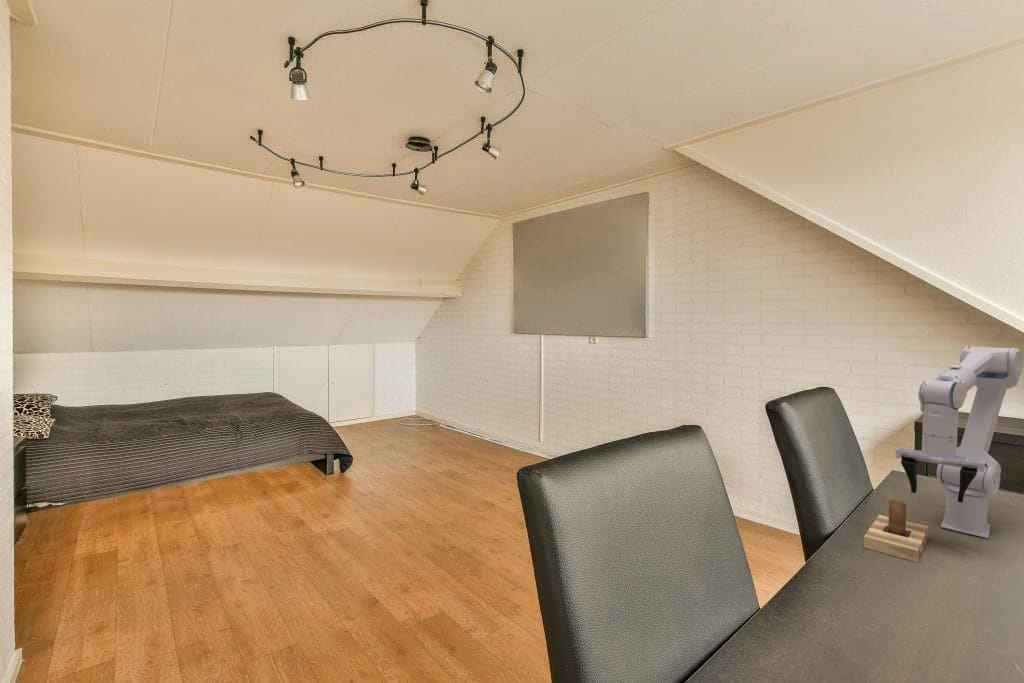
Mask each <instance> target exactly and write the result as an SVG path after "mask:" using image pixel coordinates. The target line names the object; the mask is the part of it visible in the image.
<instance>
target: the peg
mask: <svg viewBox="0 0 1024 683" xmlns="http://www.w3.org/2000/svg"><path fill="white" fill-rule="evenodd" d="M907 505H908V504H907V503H906V502H905V501H902V500H898V499H890V500H888V517H889V522H888V533H891V534H895V535H899V536H903V537H905V535H906V521H907Z"/></svg>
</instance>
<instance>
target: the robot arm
mask: <svg viewBox="0 0 1024 683" xmlns="http://www.w3.org/2000/svg"><path fill="white" fill-rule="evenodd" d="M1023 367H1024V355H1023V352H1022V351H1021V350H1020V349H1019V348H1018V347H992V346H973V345H966V346H964V348H962V350H961V352H960V356H959V364H952V365H951V366H949V367H947V368H946V369H945V370H944V371H942V373H940V374H939V375H938V376H937V377H936V378H934V379H930V378H929V379H927V380H926V381H925V380H924V381H922V382H921V384H920V386H919V388H918V394H917V396H918V400H919V403H920V412H921V413H923V414H922V434H921V435H922V436H921V450H920V449H911V448H901V447H897V448H896V449H895V458H897V459H901V461H900V464H901V466H902V468H903V469H904V472H905V474H906V476H907V478H908V481H909V485H910V489H911V493H913V494H916V493H917V491H918V478H917V476H918V475H917V474H918V473H917V472H918V464H919V462H925V463H930V464H936V465H937V467H936V478H937V480H938V481H939V483H940V484H942V488H943V489H945V513H944V516H943V519H942V522H941V524H940V527H941V528H942V529H945V530H951V531H953V532H959V533H963V534H967V535H972V536H974V537H975V536H977V537H981V538H984V539H989V536H990V529H991V524H990V523H988V513H989V512H988V510H989V497H990V496H993V495H994V494H997V492H998V490H999V488H1000V483H1001V472H1002V468H1001V465H1000V463H999V462H998V461H997V460H996V459H995V458H993V457H992V456H991V455H990V454H989V451H990V447H991V443H992V440H993V437H994V433H995V429H996V427H997V423H998V422H997V421H998V418H999V414H1000V412H1001V409H1002V404H1003V401H1004V398H1005V396H1006V393H1007V390H1008V389H1011V388H1014V387H1016V386H1017V385H1018V382H1019V381H1020V378H1021V375H1022V371H1023ZM974 386H975V387H976V392H975V395H974V398H973V402H972V406H971V409H970V412H969V415H968V419H967V422H966V425H965V428H964V432H963V436H962V439H961V443H960V445H959V446H958V431H959V430H958V429H959V428H958V424H959V409H961V408H962V407H963V406H964V403H965V401H966V398H967V396H968V392H969V391H970V390H971V389H972V388H973V387H974Z"/></svg>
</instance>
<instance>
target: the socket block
mask: <svg viewBox="0 0 1024 683" xmlns="http://www.w3.org/2000/svg"><path fill="white" fill-rule="evenodd" d="M888 522H889V516H886V515H881V514H878V516H877V517H876V518H875V520H874V521H873V522H872V524H871V526H870V527H869V529H868V530H867V531H866V533H865V534H864V536H863V537H864V538H863V548H864V549H867V550H871V551H874V552H879V553H882V554H886V555H888V556H893V557H896V558H901V559H904V560H907V561H909V562H914V563H918V562H919V561H920V557H921V555H922V554H923V550H924V548H925V545H926V542H927V540H928V539H929V526H928V525H924V524H919V523H915V522H912V521H907V520H906V535H905V537H903V536H899V535H895V534H891V533H888Z"/></svg>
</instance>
